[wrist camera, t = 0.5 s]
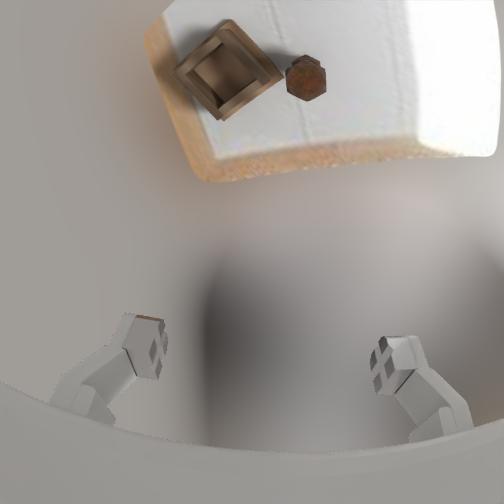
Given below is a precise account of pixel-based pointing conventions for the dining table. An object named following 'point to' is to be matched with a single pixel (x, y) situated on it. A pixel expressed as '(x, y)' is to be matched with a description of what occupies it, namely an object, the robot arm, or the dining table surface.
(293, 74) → the bolt
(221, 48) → the socket block
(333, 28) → the dining table surface
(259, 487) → the robot arm
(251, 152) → the dining table surface
